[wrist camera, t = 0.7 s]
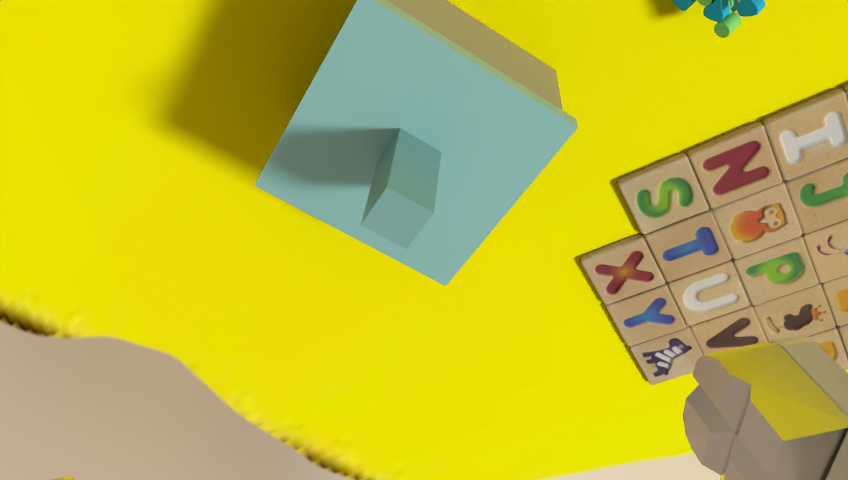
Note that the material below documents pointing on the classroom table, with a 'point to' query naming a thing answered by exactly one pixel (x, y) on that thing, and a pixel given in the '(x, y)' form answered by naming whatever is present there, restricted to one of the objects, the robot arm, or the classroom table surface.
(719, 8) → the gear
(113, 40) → the classroom table surface
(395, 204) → the lid
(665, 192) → the alphabet tiles
